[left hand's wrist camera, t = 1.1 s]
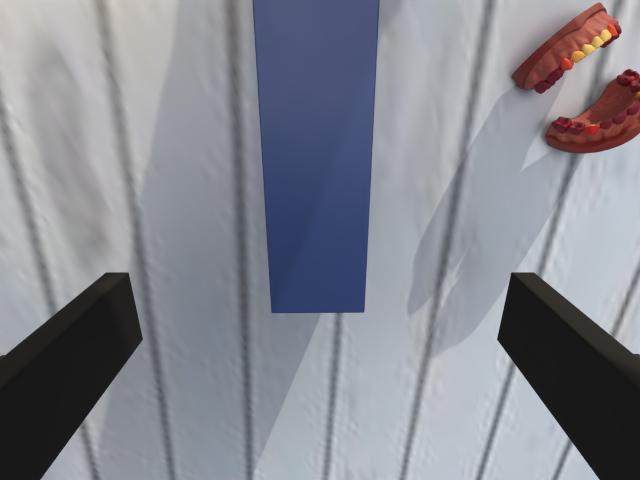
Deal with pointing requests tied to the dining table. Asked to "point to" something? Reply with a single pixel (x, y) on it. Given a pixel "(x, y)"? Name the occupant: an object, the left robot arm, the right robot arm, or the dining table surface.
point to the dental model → (612, 107)
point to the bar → (316, 148)
